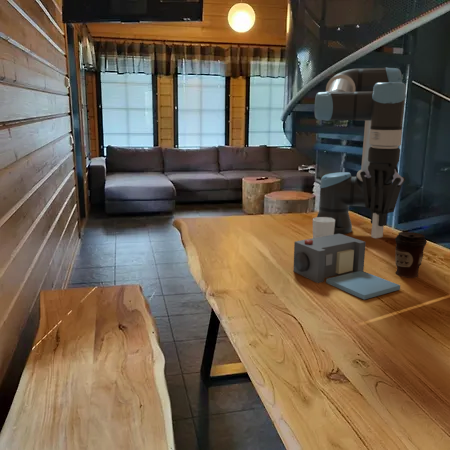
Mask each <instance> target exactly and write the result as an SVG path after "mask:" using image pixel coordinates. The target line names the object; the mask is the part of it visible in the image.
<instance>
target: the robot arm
mask: <svg viewBox="0 0 450 450" xmlns="http://www.w3.org/2000/svg"><path fill="white" fill-rule="evenodd" d="M402 76H403V75H402V72H401V69H400V68H397V67H396V68H395V67H387V66H386V67H375V68H374V67H373V68H371V67H370V68H369V67H368V68H351V69H347V70H343V71H341V72H338V73H337V74H334V76H332V77H330V79H328V82H327V83H326V85H325V91H319V92H317V93H316V95H315V99H314V118H315V119H316V120H318V121H326V122H329V121H364V133H363V145H362V155H361V156H362V157H361V167H360V168H361V169H360V170H358V171H357V173H356V176H352V174H351V173H350V172H348V171H347V172H344V171H343V172H342V171H341V172H331V173H326V174H324V175H323V176H322V177H321V178H320V185H319V204H318V206H319V208H318V212H317V215H316V217H328V218H333V219H335V228H334V234H343V235H347V234H349V233H351V232H352V231H353V230H352V229H353V226H352V220H351V218H350V212H349V210H350V208H349V207H350V206H351V207H364V208H365V209H367V210H369V211H370V224H371V234H370V235H371V236H370V238H373V239H379V238H383V237H384V229H385V228H384V227H385V226H386V224H387V216H388V214H389V213H394V211H395V209H396V206H397V202H398V200H399V196H400V192H401V189H402V187H403V185H404V184H405V183H406V180H407V179H406V177H404V176H401V175H400V173H399V170H398V164H399V162H400V156H401V149H400V147H399V146H401V145H402V134H403V120H404V110H405V102H406V98H407V96H406V87H407V86H406V84H405V83H404V82H403V77H402Z"/></svg>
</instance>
